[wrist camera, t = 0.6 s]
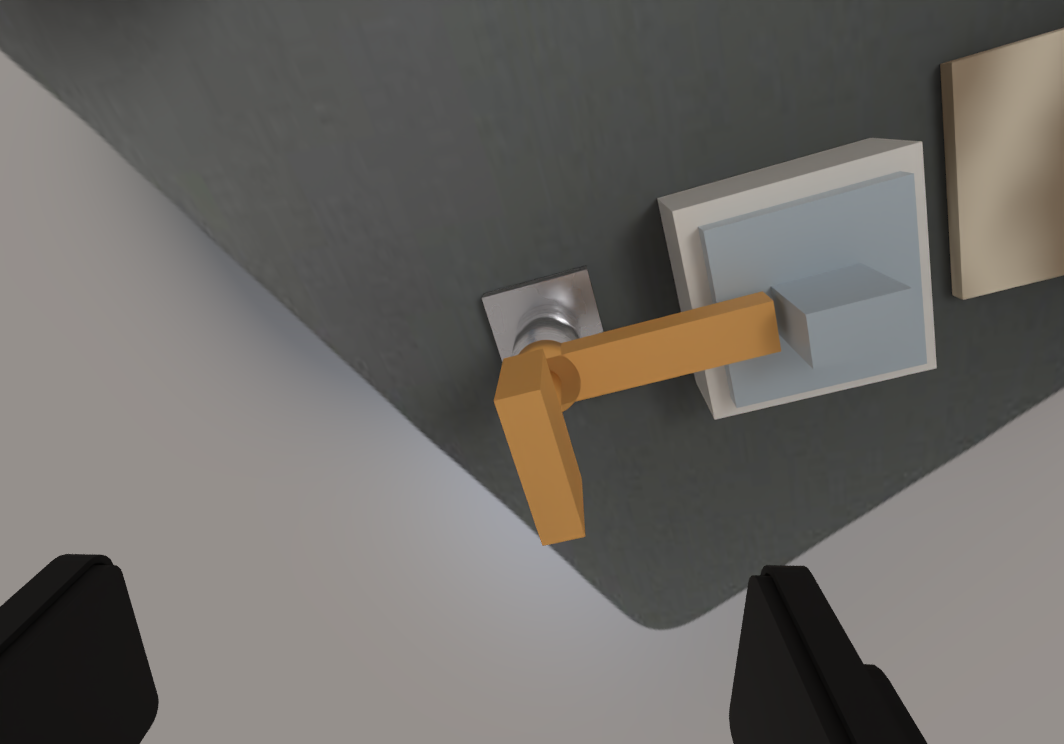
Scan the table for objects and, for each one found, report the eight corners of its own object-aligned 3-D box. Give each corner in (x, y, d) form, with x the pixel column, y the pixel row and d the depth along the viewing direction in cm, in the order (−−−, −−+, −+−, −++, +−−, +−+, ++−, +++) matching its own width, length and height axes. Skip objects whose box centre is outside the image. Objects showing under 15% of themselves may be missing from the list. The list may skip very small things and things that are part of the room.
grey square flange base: (586, 265, 36) (591, 296, 30) (611, 362, 38) (621, 410, 32) (483, 293, 36) (468, 328, 30) (514, 387, 39) (505, 437, 33)
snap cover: (900, 171, 28) (977, 184, 23) (914, 354, 32) (985, 403, 26) (697, 226, 30) (727, 250, 24) (730, 397, 33) (763, 452, 28)
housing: (870, 137, 33) (922, 141, 28) (888, 335, 36) (936, 368, 32) (657, 198, 34) (672, 211, 30) (695, 382, 38) (714, 419, 33)
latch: (756, 252, 29) (843, 314, 20) (775, 374, 31) (862, 477, 22) (496, 322, 30) (470, 406, 21) (531, 432, 32) (521, 550, 24)
